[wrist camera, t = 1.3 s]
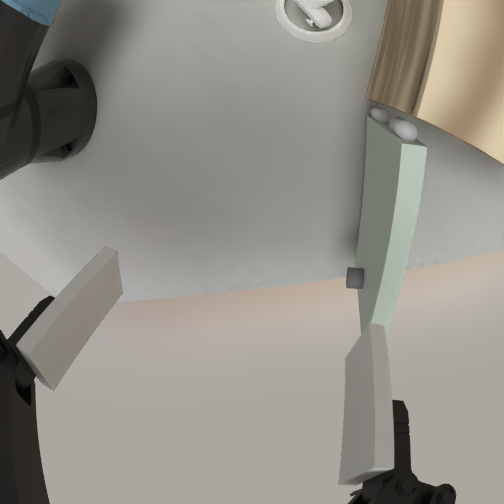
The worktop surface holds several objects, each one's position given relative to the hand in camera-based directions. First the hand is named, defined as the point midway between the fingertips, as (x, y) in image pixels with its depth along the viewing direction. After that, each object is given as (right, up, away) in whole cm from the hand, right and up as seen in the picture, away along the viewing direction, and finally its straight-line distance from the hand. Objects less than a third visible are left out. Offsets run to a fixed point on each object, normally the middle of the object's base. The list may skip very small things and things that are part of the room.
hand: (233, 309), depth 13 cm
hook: (+7, +26, +8) cm, 29 cm away
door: (+12, +9, +16) cm, 22 cm away
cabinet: (+23, +21, +8) cm, 32 cm away
